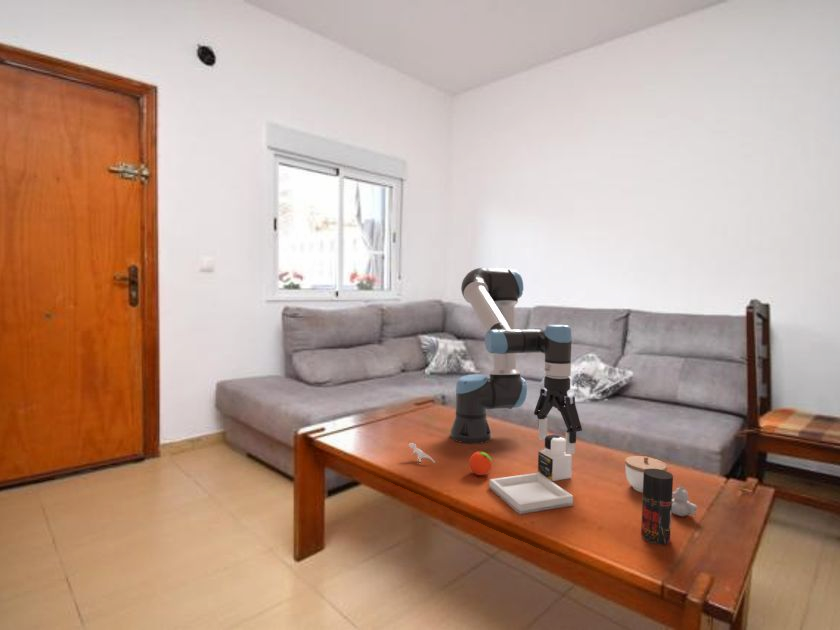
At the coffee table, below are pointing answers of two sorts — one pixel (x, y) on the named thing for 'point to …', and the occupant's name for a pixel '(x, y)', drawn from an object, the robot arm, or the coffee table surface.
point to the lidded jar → (640, 469)
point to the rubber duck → (682, 503)
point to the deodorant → (656, 506)
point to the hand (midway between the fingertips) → (555, 446)
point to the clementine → (480, 463)
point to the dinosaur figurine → (419, 452)
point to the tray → (530, 493)
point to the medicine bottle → (554, 459)
